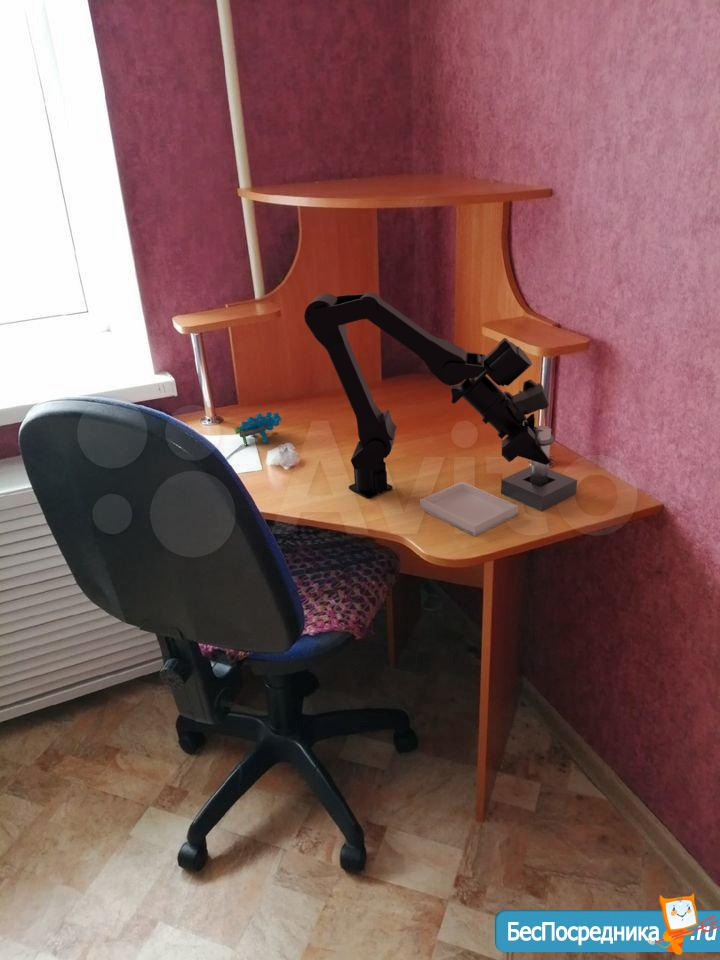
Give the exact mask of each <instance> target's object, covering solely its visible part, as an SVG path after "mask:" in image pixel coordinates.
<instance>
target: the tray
mask: <svg viewBox="0 0 720 960" xmlns="http://www.w3.org/2000/svg"><path fill="white" fill-rule="evenodd" d="M419 502H420V503H419V507H420V510H422V511H424V512H426V513H428V514H430V515H431V516H433V517H436V518H437V519H439V520H442V521H443V522H445V523H447V524H450V525H451V526H453V527H455V528H457V529H459V530H461V531H463V532H465V533H467V534H469V535H471V536H473V537H476V536H477V537H478V535H481V534H483V533H484V532H488V531H490V530H491V529H493V528H496V527H497V526H499V525H501V524H503V523H505V522H507V521H509V520H511V519H513V518H516V517H517V516H518V505H517V504H514V503H512V502H510V501H508V500H505V499H502V498H500V497H498V496H496V495H494V494H491V493H490V492H487V491H485V490H482V489H480V488H478V487H475V486H473V485H471V484H469V483H467V482H464V481H460V482H458V483H455V484H454V485H451V486H448V487H446V488H443V489H441V490H439V491H437V492H434V493H433V494H430V495H428V496H425V497H423V498H420V501H419Z"/></svg>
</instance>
